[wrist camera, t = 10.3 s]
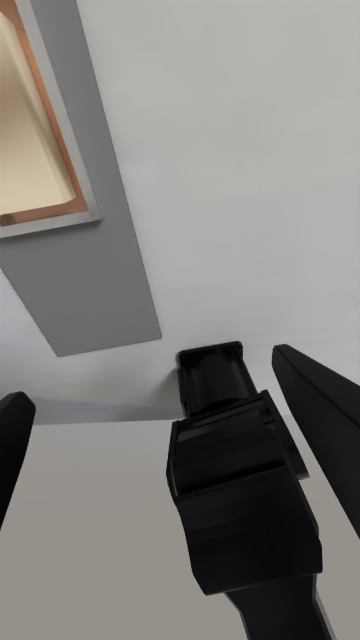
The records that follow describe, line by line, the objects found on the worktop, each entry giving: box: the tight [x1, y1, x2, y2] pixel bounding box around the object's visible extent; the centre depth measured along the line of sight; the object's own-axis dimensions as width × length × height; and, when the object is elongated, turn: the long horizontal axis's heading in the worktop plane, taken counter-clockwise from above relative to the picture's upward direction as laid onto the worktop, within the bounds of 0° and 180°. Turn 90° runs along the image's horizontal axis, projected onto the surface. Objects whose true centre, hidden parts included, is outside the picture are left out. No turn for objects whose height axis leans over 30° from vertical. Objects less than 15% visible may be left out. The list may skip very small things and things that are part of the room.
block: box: [0, 12, 77, 215], centre depth 11 cm, size 7×4×2 cm, turn 9°
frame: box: [0, 0, 104, 238], centre depth 12 cm, size 7×10×1 cm
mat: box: [0, 0, 162, 357], centre depth 16 cm, size 10×22×1 cm, turn 9°
